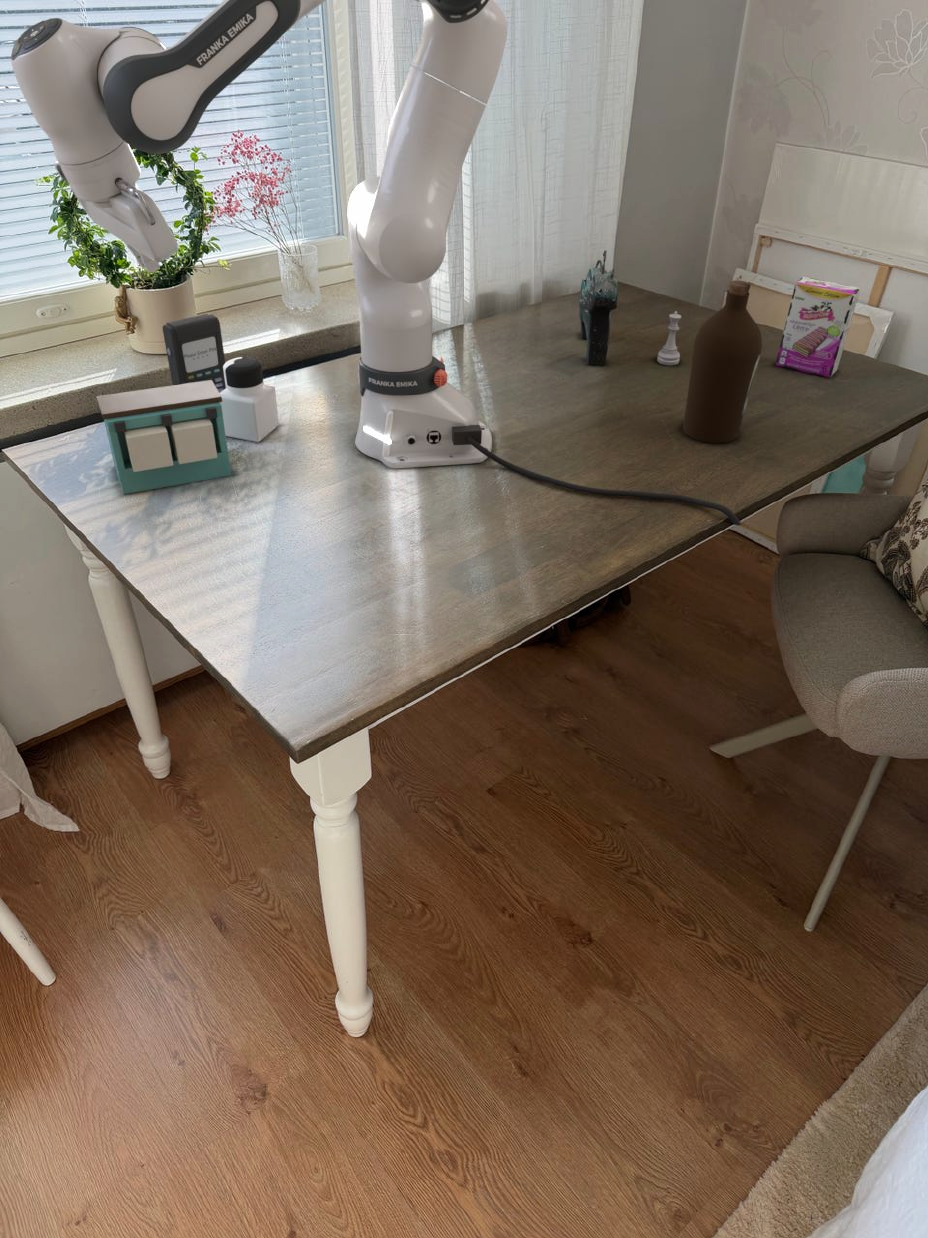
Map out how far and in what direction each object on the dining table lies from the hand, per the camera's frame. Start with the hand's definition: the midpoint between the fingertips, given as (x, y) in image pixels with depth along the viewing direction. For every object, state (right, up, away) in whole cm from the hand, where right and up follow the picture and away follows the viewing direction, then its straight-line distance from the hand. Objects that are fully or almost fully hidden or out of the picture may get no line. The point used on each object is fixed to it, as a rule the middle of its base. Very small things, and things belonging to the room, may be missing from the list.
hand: (150, 267), depth 127 cm
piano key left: (-2, -26, +7) cm, 27 cm away
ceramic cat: (+69, +6, +60) cm, 91 cm away
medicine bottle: (+8, -17, +27) cm, 33 cm away
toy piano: (-1, -26, +14) cm, 30 cm away
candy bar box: (+111, +1, +54) cm, 124 cm away
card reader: (-2, -11, +34) cm, 36 cm away
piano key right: (+4, -24, +9) cm, 26 cm away
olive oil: (+86, -17, +30) cm, 92 cm away
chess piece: (+84, +2, +56) cm, 101 cm away
